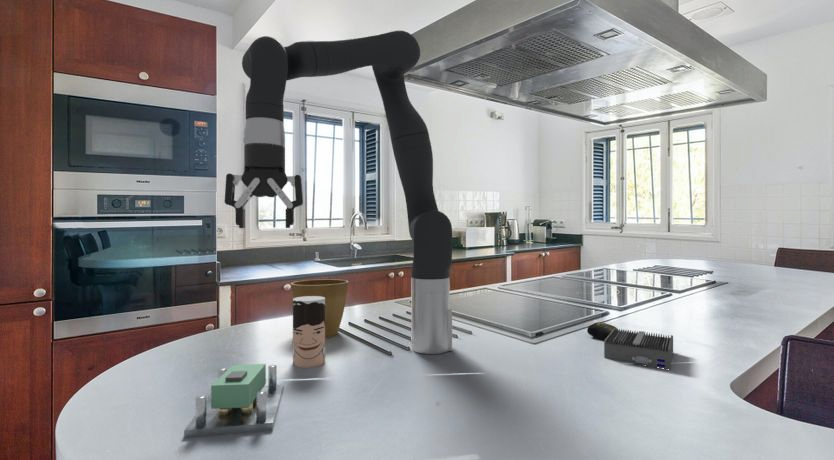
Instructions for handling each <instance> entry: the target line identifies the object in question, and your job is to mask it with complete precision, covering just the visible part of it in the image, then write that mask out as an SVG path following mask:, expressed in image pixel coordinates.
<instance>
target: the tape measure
mask: <svg viewBox="0 0 834 460" xmlns="http://www.w3.org/2000/svg"><path fill="white" fill-rule="evenodd" d="M615 328H616V330H617V328H618V327H616V326H615V325H611V324H608V323H605V322H593V323H592V324H590V325H588V327H587V331H586V332H587V334H588V335H590V336H592V337H593V338H594V339H598V340H600V341H603V342H604V340H605V339H606V338H607V337H608V336H609V334H610V333H611V332H612V331H613V329H615Z"/></svg>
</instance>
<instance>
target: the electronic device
mask: <svg viewBox="0 0 834 460" xmlns="http://www.w3.org/2000/svg"><path fill="white" fill-rule="evenodd" d="M616 328H617V330H616ZM616 328H615V329H613V331H612V332H611V333H610V334H609V336H608V337H607V338H606V339H605V340H604V341H603V345H604V347H603V348H604V349H603V351H604V352H603V354H604V355H603V356H604V359H609V360H614V361H620V362H624V363H626V362H627V363H629V364H630V363H634V364H633V365H636V364H640V365H639V366H641V365H646V366H645V367H647V366H652V367H651V368H653V367H659V368H664V369H669V370H670V371H671V368H672V364H671V363H673V357H674V356H673V355H674V335H672V334H670V335H669V334H668V335H667V334H663V333H661V334H660V333H657V332H656V333H655V332H649V333H648V332H646V331H642V330H639V331H638V330H637V331H636V330H629V329H628V330H627V329H623V328H619V329H618V327H616ZM664 369H663V370H664ZM669 370H668V371H669Z"/></svg>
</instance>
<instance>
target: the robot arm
mask: <svg viewBox="0 0 834 460" xmlns="http://www.w3.org/2000/svg"><path fill="white" fill-rule="evenodd" d="M419 45H420V44H419V42H418V41H417V39H416V38H415V36H413V35H412V34H411V33H410V32H407V31H405V30H391V31H388V32H383V33H379V34H374V35H370V36H369V35H368V36H362V37H354V38H344V39H333V40H332V39H329V40H328V39H327V40H326V39H325V40H324V39H323V40H298V41H296V42H293V43H291V44H290V45H288V46H284V45H283V44H282V43H281V42H280V41H279V40H278V39H277V38H275V37H272V36H266V35H265V36H260V37H258V38H256V39H255V40H254V41H253V42H251V44H250V45H249V47H248V49H247V50H246V51H245V53H244V54H243V56H242V60H241V68H242V70H243V73H244V74H245V75H246V77H248V79H249V80H250V81H249V88H248V91H247V93H246V97H245V125H244V131H243V145H244V148H243V152H244V153H243V154H244V155H243V157H244V158H243V160H244V163H243V167H244V168H243V169H244V170H243V174H242V175H241V174H232V173H227V174H226V176H225V189H224V204H225V205H226V206H230V207H233V208H234V209H235V225H236V226H238V228H239V229H245V228H246V209H245V208H244V207H245V206H246V205H247V204H248V202H249V201H251V199H252V198H253V197H254V196H255V197H256V198H264V197H268V198H275V197H278V198H279V199H280V200H281V201H282V203H283V204H284V205H285V206H286V208H285V228H286V229H291V226H293V225H294V222H295V214H294V211H295V208H298V207H302V206H303V205H304V197H303V196H304V195H303V182H302V180H303V179H302V177H301V175H299V174H295V175H291V176H290V175H289V176H288V175H287V174H286V133H285V126H284V125H285V123H284V122H285V121H284V117H285V116H284V115H285V113H284V110H285V108H284V97H285V91H286V85H287V81H291V80H296V79H299V78H317V77H328V76H335V75H340V74H343V73H347V72H350V71H353V70H357V69H361V68H365V67H372V71H373V75H374V78H375V81H376V84H377V87H378V91H379V94H380V98H381V100H382V104H383V108H384V113H385V118H386V123H387V126H388V131H389V136H390V137H389V139H390V142H391V147H392V153H393V155H394V160H395V164H396V169H397V171H398V176H399V179H400V182H401V186H402V189H403V192H404V193H403V194H404V197H405V203H406V204H405V205H406V213H407V224H408V232H409V233H408V234H409V236H410V239H411V240H412V242H413V255H412V257H413V258H412V264H411V267H410V277H411V278H410V285H411V286H410V291H411V292H410V293H411V294H410V297H411V298H410V299H411V301H410V303H411V304H410V306H411V307H410V308H411V309H410V318H411V319H410V320H411V322H410V324H411V325H410V327H411V328H410V330H411V331H410V337H411V338H410V344H411V347H410V348H411V350H412V351H413V352H414V353H419V354H425V355H426V354H427V355H435V354H436V355H439V354H444V353H447V352H453V311H452V309H450V305H451V304H450V303H451V302H450V301H451V300H450V292H451V291H450V288H451V287H450V281H451V280H450V278H451V277H450V273H451V272H450V271H451V267H452V264H453V226H452V223H451V220H450V218H449V217H448V216H447V214H445V213H444V212H442V211H440V210H439V208H438V204H437V200H436V196H435V193H434V192H435V191H434V159H433V158H434V157H433V156H434V155H433V149H432V142H431V140H430V133H429V129H428V126H427V124H426V122H425V120H424V119H423V118H422V116H421V115H420V113H419V112H418V111H417V109H416V108H415V107H414V106H413V104H412V102H411V100H410V98H409V95H408V91H407V86H406V82H405V74H407V73H409V71H411V70H412V69H413V68H414V67H416V65H417V63H418V62H419V60H420V57H421V48H420V46H419ZM241 181H242V184H244V186H245V187H246V189H245V190H244V191H243V192H242V194H241V195H240V197H239V198H238V199H237V200H235V193H236V187H237V186H239V184H240V182H241ZM288 182H289V183H290V185H291V187H293V188H294V190H295V192H294V193H295V200H293V201H292V200H290V198H289V197H288V195H287V194H286V192H284V190H283V189H284V188H285V186H286V185H287V183H288Z"/></svg>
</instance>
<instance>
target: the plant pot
mask: <svg viewBox="0 0 834 460" xmlns="http://www.w3.org/2000/svg"><path fill="white" fill-rule="evenodd" d="M349 283H350V282H349V281H348V280H346V279H332V278H331V279H323V278H322V279H305V280H299V281H298V280H297V281H293V282H291V283H290V284H291V290H292V291H291V292H292V296H293V299H294V298H297V297H304V296H321V297H325V339H329V338H332V337H335V336H337V335H338V333H339V330H340V327H341V325H342V323H341V322H342V320H343V316H344V312H345V307H346V302H347V297H348V296H347V295H348V288H349Z"/></svg>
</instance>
